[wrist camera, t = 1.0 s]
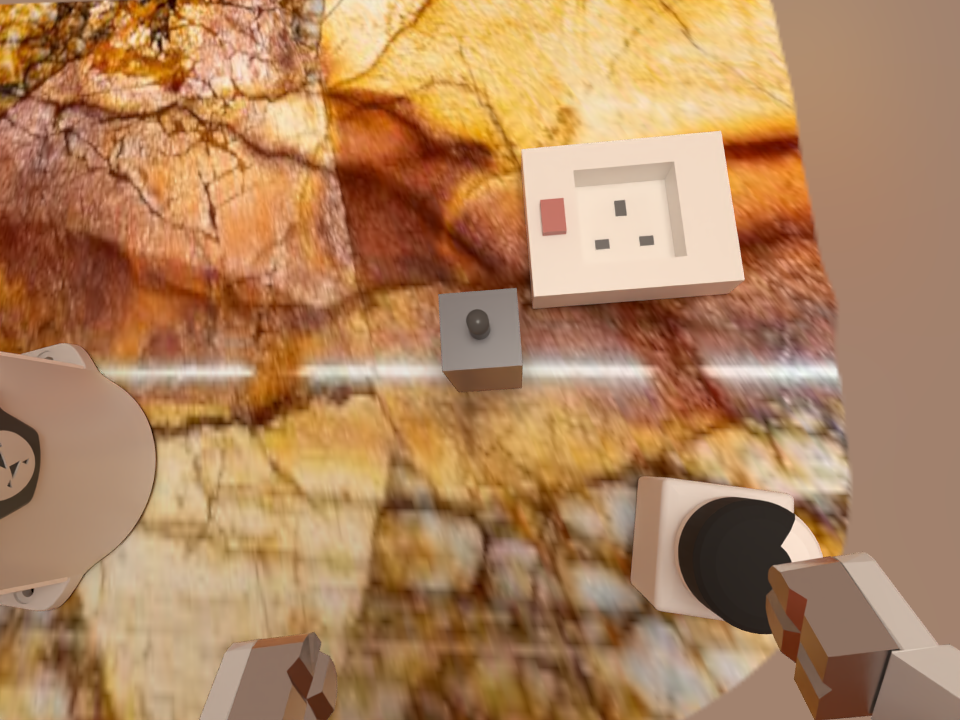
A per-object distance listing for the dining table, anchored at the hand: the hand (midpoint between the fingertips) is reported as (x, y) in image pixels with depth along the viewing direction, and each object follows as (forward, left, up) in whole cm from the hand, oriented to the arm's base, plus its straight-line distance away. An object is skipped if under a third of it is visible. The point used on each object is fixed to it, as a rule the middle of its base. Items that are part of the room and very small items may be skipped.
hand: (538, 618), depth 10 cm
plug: (-2, +10, -29) cm, 31 cm away
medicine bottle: (+11, -3, -29) cm, 31 cm away
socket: (+9, +19, -29) cm, 36 cm away
